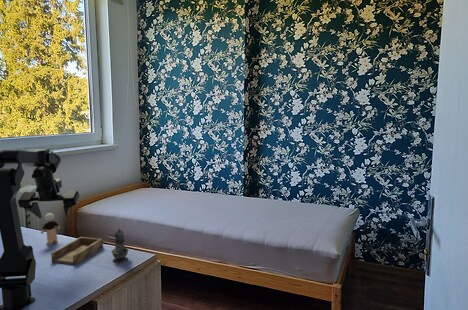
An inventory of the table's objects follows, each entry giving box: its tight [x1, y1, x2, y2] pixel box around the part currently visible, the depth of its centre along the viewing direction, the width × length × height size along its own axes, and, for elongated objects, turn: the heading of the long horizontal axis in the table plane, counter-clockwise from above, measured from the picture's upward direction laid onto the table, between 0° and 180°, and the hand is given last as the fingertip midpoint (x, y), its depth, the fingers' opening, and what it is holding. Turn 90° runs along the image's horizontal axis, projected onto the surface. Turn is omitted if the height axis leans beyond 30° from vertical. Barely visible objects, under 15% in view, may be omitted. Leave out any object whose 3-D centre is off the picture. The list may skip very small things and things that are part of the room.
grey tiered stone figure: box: [111, 228, 129, 264], centre depth 127 cm, size 6×6×12 cm
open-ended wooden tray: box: [50, 236, 104, 266], centre depth 132 cm, size 16×10×4 cm, turn 166°
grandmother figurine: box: [40, 212, 61, 246], centre depth 142 cm, size 8×4×13 cm, turn 157°
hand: (54, 217), depth 128 cm, fingers open, 9 cm apart
